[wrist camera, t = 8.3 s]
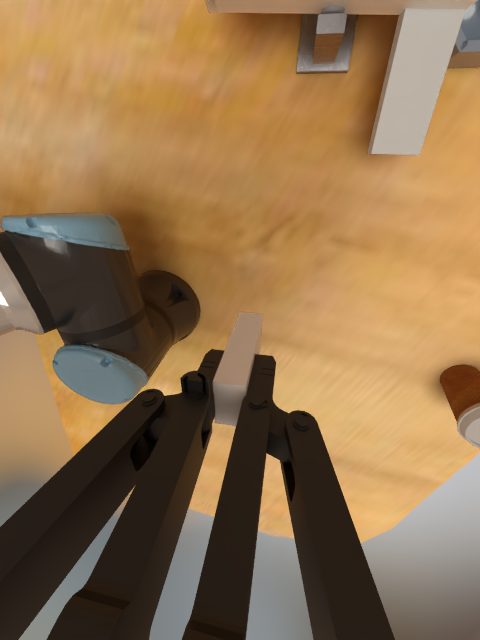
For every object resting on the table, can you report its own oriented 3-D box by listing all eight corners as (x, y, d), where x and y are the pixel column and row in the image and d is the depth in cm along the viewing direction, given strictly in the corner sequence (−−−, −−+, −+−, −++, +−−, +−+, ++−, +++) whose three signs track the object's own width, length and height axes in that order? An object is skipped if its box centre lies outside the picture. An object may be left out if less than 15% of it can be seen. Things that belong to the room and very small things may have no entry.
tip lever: (212, 149, 30) (207, 148, 27) (206, -119, 21) (198, -168, 18) (411, 155, 29) (430, 154, 26) (495, -120, 20) (538, -170, 17)
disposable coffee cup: (458, 349, 47) (501, 400, 37) (503, 372, 48) (558, 428, 38) (418, 382, 52) (446, 435, 42) (459, 402, 53) (497, 459, 43)
